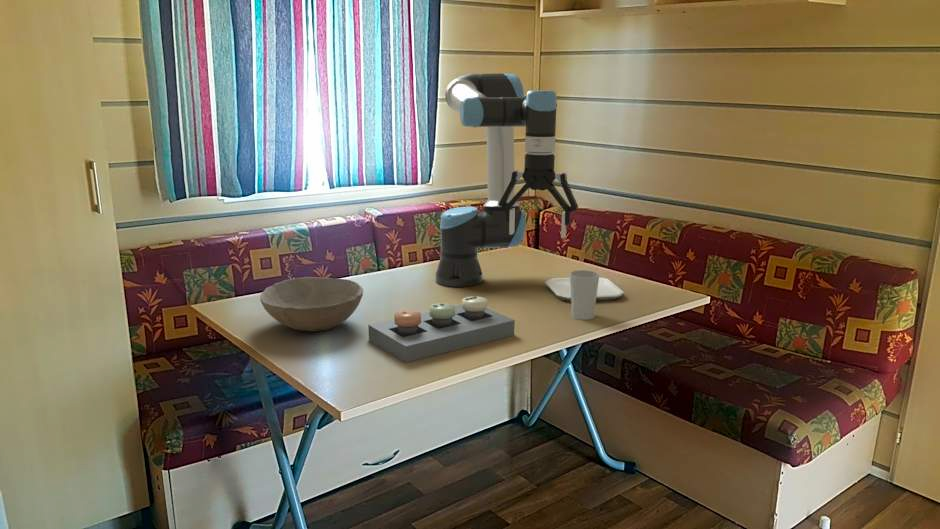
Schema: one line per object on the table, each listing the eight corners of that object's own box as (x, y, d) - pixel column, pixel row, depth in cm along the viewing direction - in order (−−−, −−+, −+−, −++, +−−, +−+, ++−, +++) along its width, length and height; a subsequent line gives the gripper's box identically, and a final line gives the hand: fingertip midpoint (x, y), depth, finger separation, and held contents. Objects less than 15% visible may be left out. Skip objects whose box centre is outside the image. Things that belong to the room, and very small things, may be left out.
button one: (389, 332, 178) (389, 312, 176) (412, 327, 181) (412, 307, 180) (403, 339, 172) (402, 319, 171) (426, 334, 176) (425, 314, 175)
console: (368, 339, 181) (368, 324, 180) (472, 316, 199) (472, 302, 198) (405, 362, 167) (405, 346, 166) (514, 334, 185) (514, 320, 184)
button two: (424, 324, 183) (424, 305, 182) (445, 319, 187) (445, 300, 186) (438, 331, 178) (438, 312, 177) (460, 326, 182) (460, 307, 180)
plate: (560, 305, 210) (560, 297, 210) (542, 285, 230) (542, 278, 230) (628, 302, 214) (628, 294, 213) (604, 282, 233) (605, 276, 233)
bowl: (316, 352, 173) (314, 312, 171) (240, 331, 187) (237, 294, 184) (385, 321, 195) (384, 285, 192) (312, 305, 208) (310, 271, 206)
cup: (596, 321, 196) (599, 278, 193) (566, 319, 197) (568, 276, 194) (597, 312, 203) (599, 271, 200) (569, 310, 205) (570, 269, 202)
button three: (457, 316, 189) (457, 298, 188) (477, 312, 192) (477, 294, 191) (471, 323, 184) (471, 304, 183) (491, 318, 187) (492, 300, 186)
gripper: (488, 152, 184) (487, 234, 189) (587, 156, 177) (583, 241, 182) (495, 149, 191) (494, 229, 196) (591, 153, 184) (587, 235, 189)
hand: (537, 235), depth 189 cm, fingers open, 13 cm apart
